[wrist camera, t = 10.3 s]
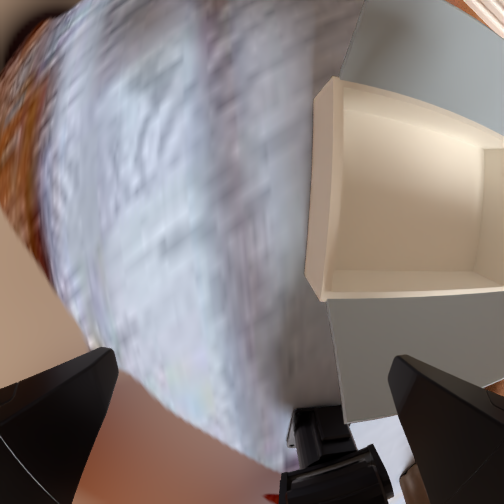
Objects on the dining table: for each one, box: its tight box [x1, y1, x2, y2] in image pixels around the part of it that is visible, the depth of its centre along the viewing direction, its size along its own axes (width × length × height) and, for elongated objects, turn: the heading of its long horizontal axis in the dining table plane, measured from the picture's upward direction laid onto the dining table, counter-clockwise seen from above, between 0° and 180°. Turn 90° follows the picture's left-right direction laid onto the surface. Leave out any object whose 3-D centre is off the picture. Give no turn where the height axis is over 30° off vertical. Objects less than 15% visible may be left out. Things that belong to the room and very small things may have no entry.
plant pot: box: [399, 464, 430, 504], centre depth 22 cm, size 16×16×16 cm
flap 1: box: [339, 0, 504, 136], centre depth 9 cm, size 7×18×1 cm
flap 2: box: [326, 291, 504, 424], centre depth 13 cm, size 7×18×1 cm
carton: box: [304, 76, 504, 302], centre depth 17 cm, size 13×18×5 cm
